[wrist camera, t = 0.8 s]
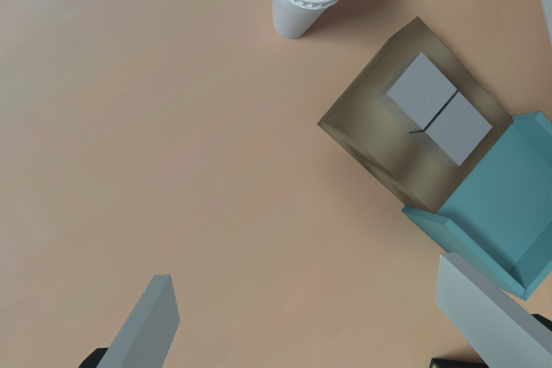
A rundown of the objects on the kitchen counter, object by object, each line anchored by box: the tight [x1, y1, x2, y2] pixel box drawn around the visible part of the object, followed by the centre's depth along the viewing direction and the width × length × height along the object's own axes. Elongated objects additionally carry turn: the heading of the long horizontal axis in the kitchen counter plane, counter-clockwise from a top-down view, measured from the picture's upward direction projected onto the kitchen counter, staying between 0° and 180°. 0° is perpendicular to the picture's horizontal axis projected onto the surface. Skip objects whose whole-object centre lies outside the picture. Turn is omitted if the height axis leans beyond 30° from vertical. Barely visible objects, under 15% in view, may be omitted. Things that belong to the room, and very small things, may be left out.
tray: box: [402, 111, 552, 301], centre depth 30 cm, size 12×14×7 cm
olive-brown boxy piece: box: [317, 16, 514, 214], centre depth 29 cm, size 14×12×5 cm
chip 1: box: [373, 52, 457, 132], centre depth 25 cm, size 4×4×2 cm
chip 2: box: [408, 92, 492, 166], centre depth 26 cm, size 4×4×2 cm
